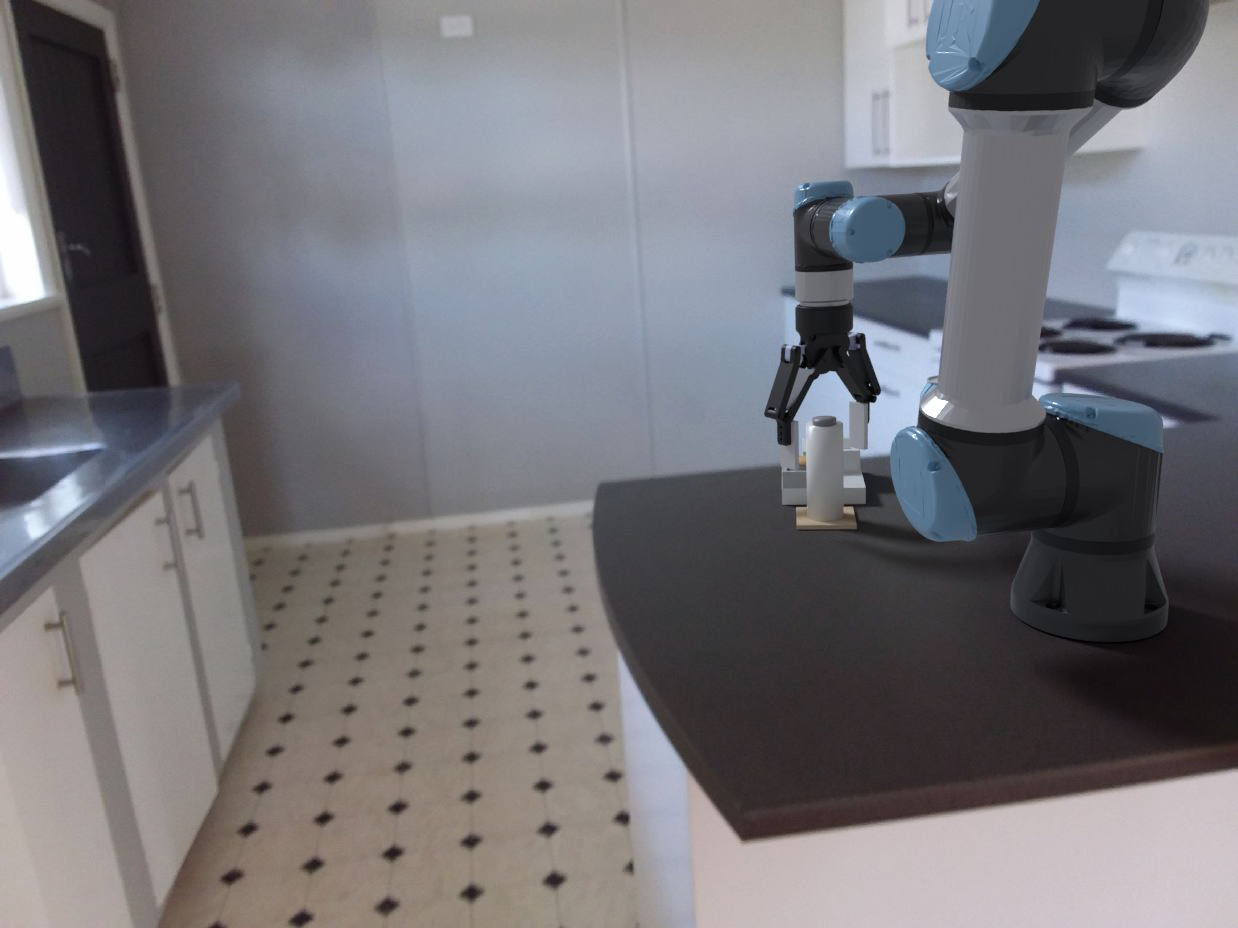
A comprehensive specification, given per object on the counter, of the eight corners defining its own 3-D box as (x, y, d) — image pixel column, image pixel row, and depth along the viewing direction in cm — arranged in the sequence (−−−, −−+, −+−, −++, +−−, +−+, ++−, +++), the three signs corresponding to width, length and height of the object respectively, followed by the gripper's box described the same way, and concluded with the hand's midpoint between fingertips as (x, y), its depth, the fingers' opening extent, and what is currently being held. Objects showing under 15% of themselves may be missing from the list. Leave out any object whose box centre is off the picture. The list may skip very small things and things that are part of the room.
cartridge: (851, 515, 140) (850, 417, 136) (828, 524, 137) (827, 424, 133) (822, 507, 144) (821, 412, 140) (799, 516, 141) (798, 419, 137)
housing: (865, 503, 146) (865, 464, 145) (782, 504, 148) (781, 465, 147) (857, 471, 162) (857, 435, 161) (782, 472, 164) (781, 437, 163)
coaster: (856, 529, 136) (856, 525, 136) (796, 529, 137) (796, 525, 137) (852, 510, 144) (852, 506, 144) (796, 511, 145) (796, 507, 145)
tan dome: (817, 482, 148) (817, 462, 147) (790, 482, 148) (789, 463, 148) (816, 474, 151) (816, 455, 151) (789, 475, 152) (789, 456, 151)
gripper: (865, 291, 142) (864, 436, 148) (734, 312, 129) (739, 471, 134) (908, 293, 136) (906, 444, 142) (776, 315, 123) (779, 482, 128)
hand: (825, 457), depth 138 cm, fingers open, 13 cm apart
